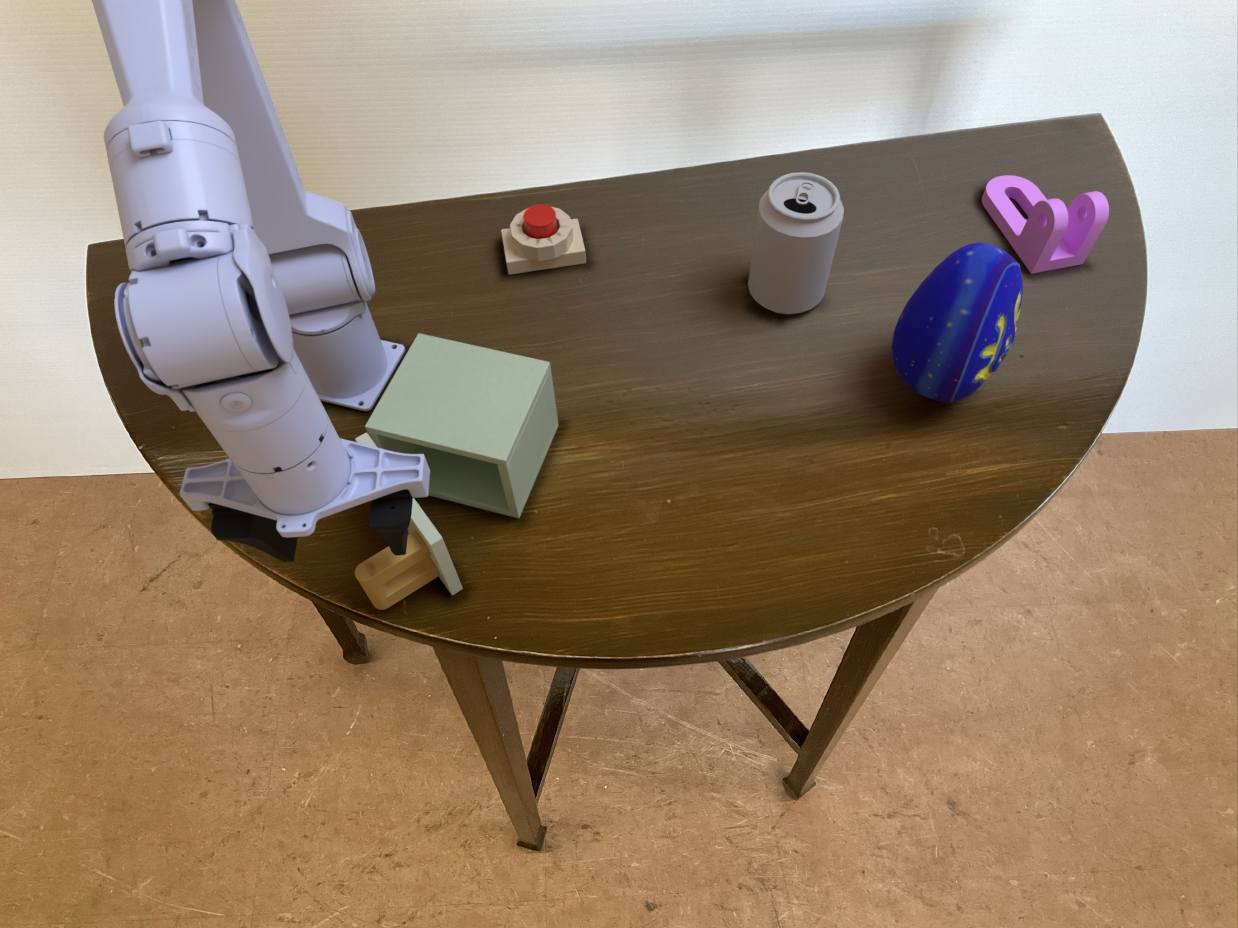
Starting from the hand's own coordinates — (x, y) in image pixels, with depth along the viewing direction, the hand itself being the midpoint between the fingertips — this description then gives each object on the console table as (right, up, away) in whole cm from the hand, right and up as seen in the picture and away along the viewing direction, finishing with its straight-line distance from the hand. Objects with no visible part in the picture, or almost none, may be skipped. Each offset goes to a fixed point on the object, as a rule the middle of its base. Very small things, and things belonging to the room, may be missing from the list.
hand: (346, 545), depth 59 cm
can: (+35, +22, +25) cm, 49 cm away
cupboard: (+7, +6, +15) cm, 18 cm away
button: (+11, +29, +26) cm, 41 cm away
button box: (+11, +27, +29) cm, 41 cm away
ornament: (+48, +13, +19) cm, 53 cm away
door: (+1, -2, +9) cm, 10 cm away
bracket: (+61, +30, +30) cm, 74 cm away
